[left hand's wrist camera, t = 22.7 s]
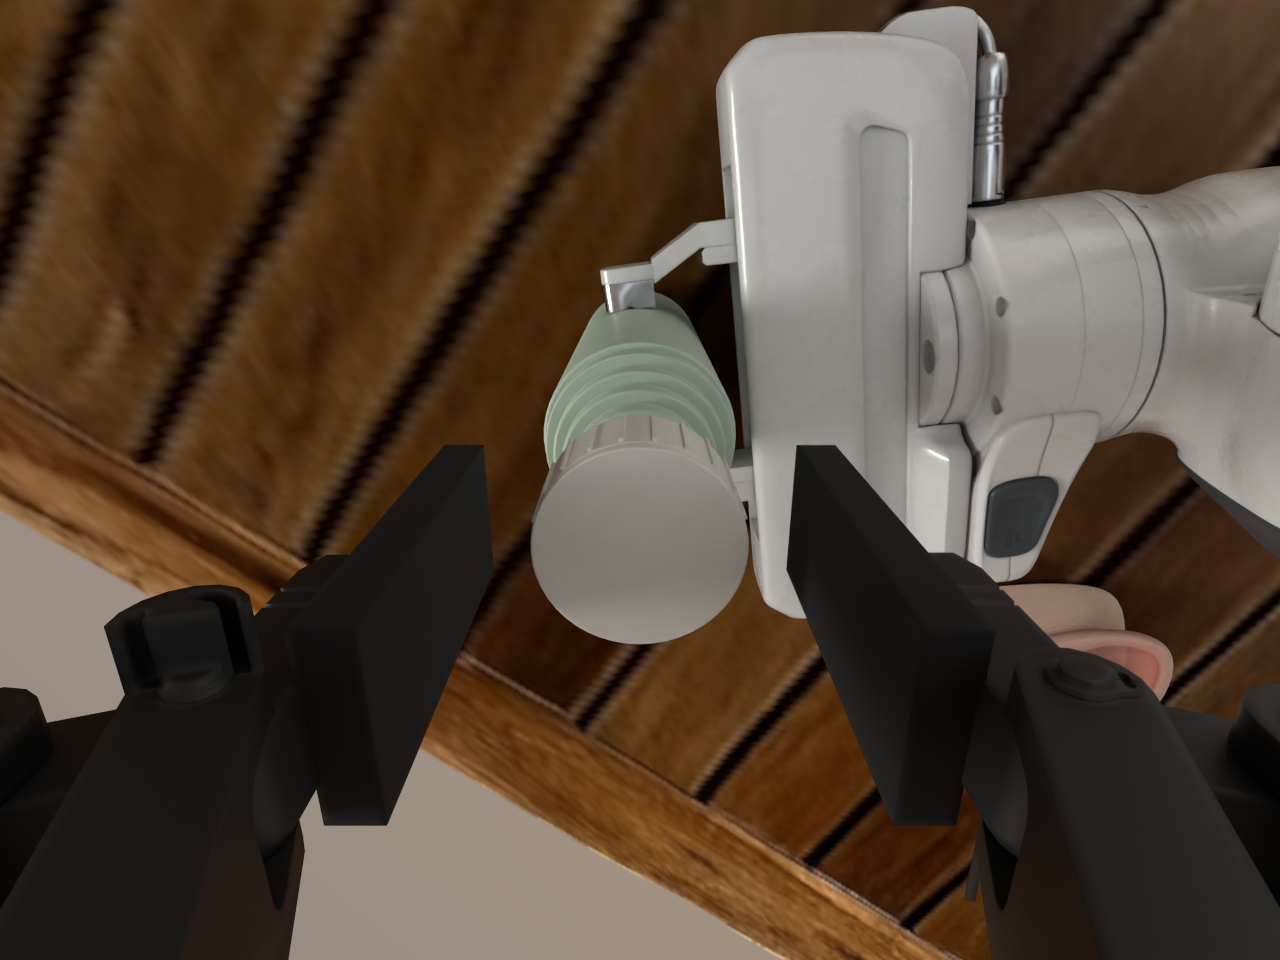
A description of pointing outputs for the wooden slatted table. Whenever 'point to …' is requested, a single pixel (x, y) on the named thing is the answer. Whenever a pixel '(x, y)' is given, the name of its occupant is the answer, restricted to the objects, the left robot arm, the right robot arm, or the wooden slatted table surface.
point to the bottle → (640, 378)
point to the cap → (639, 531)
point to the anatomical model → (1094, 628)
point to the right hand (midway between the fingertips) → (616, 380)
